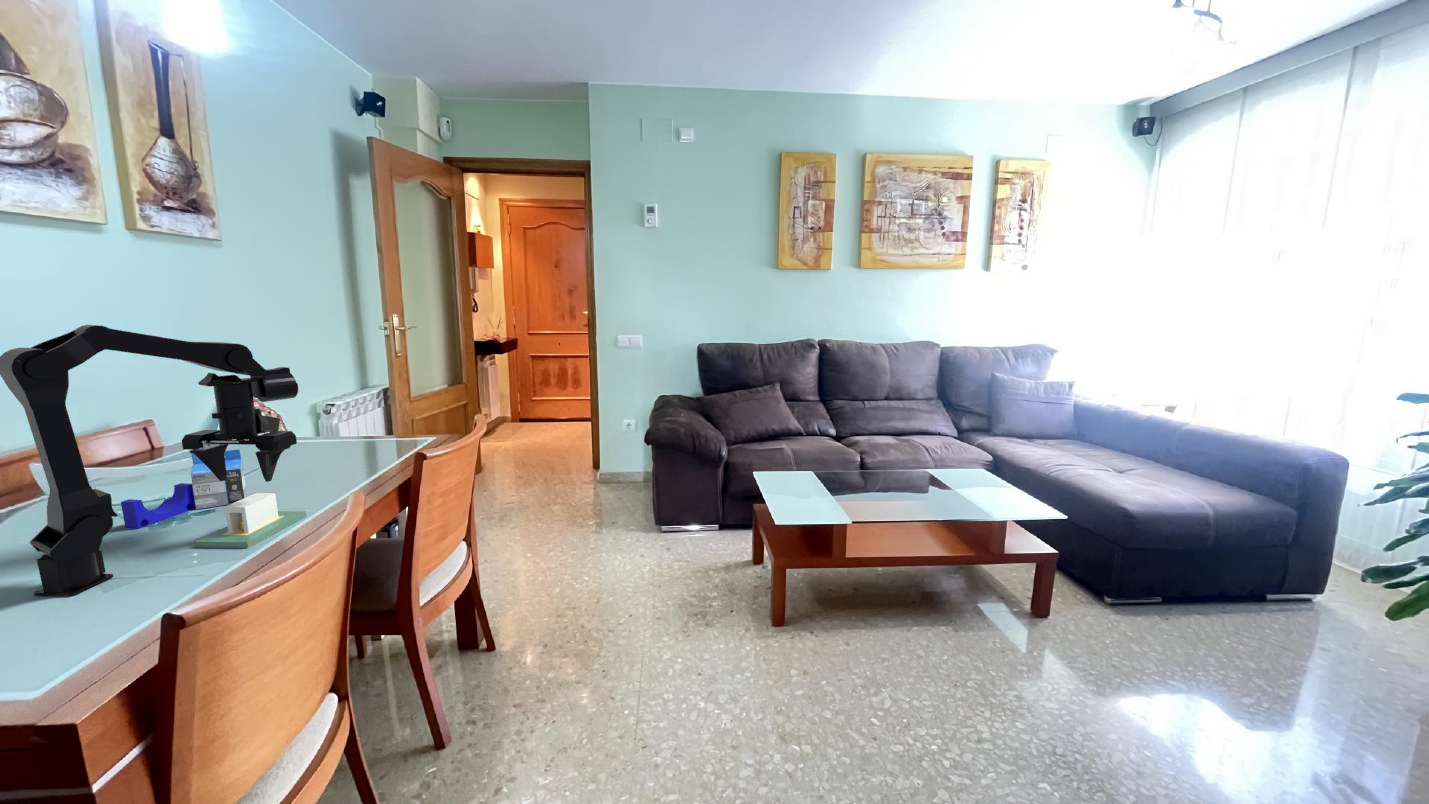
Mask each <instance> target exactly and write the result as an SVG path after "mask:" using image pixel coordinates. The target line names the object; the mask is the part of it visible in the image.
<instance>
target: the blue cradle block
mask: <svg viewBox="0 0 1429 804" xmlns="http://www.w3.org/2000/svg"><path fill="white" fill-rule="evenodd" d="M120 505H121V506H120V507H121V511H122V516H123V522H124V527H125V529H129V530H130V529H131V530H140V529H142V528H146V527H149V526H152V525H154V524H156V523H159V521H160V522H163V521H165V520H168V519H170V518H173V517H176V516H179V515H182V514H184V513H187V512H190V511H193V510H197V509H196V506H195V500H194V493H193V485H192V483H186V482H185V483H184V482H180V483H177V484H174V488H173V494H172V496H171V497H168V498H165V499H164V500H163V501H162V503H160V505H158V506H157V507H156V508H154V509H151V510H149V509H147V507H145V505H144V504H143V500H142V499H132V498H131V499H129V498H128V499H126V500H122V501H120Z"/></svg>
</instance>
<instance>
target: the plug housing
mask: <svg viewBox="0 0 1429 804" xmlns="http://www.w3.org/2000/svg"><path fill="white" fill-rule="evenodd" d="M278 511H279V509H278V504H277V496H276V493H273V492H272V493H271V492H269V493H267V492H256V493H254V494H251V495H247V497H246V498H244V499H242V500H239V501H237V502H235V503H232V504H228V505H224V512H225V513H224V514H225V519H226V521H225V522H226V527H227V528H228V533H233V532H235V531H237V530H239V529H241V526H240V521H242V520H243V526H244V533H250V532H252V531H254V530H256V529H257V528H259V527H261V526H263V525H265V524H267V523H269V522H271V521H273V520H275V519H277V518H279V517H278Z"/></svg>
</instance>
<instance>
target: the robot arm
mask: <svg viewBox="0 0 1429 804" xmlns="http://www.w3.org/2000/svg"><path fill="white" fill-rule="evenodd" d="M105 350H106V351H107V350H108V351H112V352H113V351H114V352H122V353H129V354H138V355H143V356H149V357H150V356H151V357H158V358H165V359H170V360H171V359H172V360H177V361H183V362H187V363H190V364H193V365H195V366H199V367H203V368H207V369H211V370H213V371H218V372H223V373H224V372H225V373H232V374H226V375H218V374H216V373H213V372H208V373H207V374H206V376H204V378H202V379H201V380H200V381H198V383H197V384H198V385H199V386H205V387H213V392H214V399H215V400H214V401H215V406H216V412H212V413H211V418H212V419H215V420H218V426H219V429H203V430H198V431H195V432H191V433H187V434H184V436H183V438H182V439H181V445H182V450H186V451H187V450H188V451H189V454H191V455H192V454H195V455H196V456H197V457H198V458H199V459H200V460H201V461H202V462H203V463H204V464H205V465H206V466H207V467H208V468H209V469H210V470H211V471H212V473H213V474H214V475H215V476H216V477H217V478H218V479H219V480H220V481H224V480H226V465H225V456H224V453H225V451H227V447H228V446H229V445H245V446H247V445H250V446H251V445H253V446H255V447H256V448H257V449H258V451H255V456H256V459H257V461H258V466H259V467H260V471H261V474H262V476H263V479H264V481H265V482H266V483H267V482H268V483H269V482H271V481H272V480H273V476H274V475H275V474H274V473H275V470H276V467H277V464H278V461H279V458H280V456H281V455H282V454H283V452H284V451H285V450H288V449H290V448H291V446H294V445H297V444H298V442H297V441H298V440H297V435H296V433H294V432H293V431H291V430H280V424H281V423H280V422H281V418H280V417H275V416H269V415H263V414H262V410H261V409H260V407H259V408H257V407H255V403H254V398H255V399H257V400H258V401H259V402H261V403H266V402H274V401H282V400H283V401H284V400H289V399H295V398H296V397H297V395H298V393H299V384H298V383H299V382H297V380H296V378H295V376H294V375H293V374H292V373H291V369H290V367H286V366H279V367H275V368H267V369H266V368H264V367H263V366H262V365H261V364H260V363H259V362H258V361H257V360H255V359H254V356H253V353H252V351H251V350H250V349H249V347H248V346H246V345H244V344H241V343H232V342H221V341H220V342H219V341H189V340H187V341H186V340H182V339H175V338H169V337H162V336H157V335H150V334H145V333H138V332H132V331H127V330H121V329H120V330H119V329H116V328H115V329H114V328H111V327H107V326H105V325H98V324H97V325H96V324H85V325H81V326H78V327H77V328H76V329H74V330H71V331H69V332H66V333H64V334H62V335H59V336H57V337H53V338H50V339H48V340H46V341H45V340H44V341H42V342H40V343H38V344H35V345H33V346H31V347H17V348H15V347H14V348H11V349H9V350H7V351H5V352H4V353H3V354H1V355H0V377H1V379H2V380H3V382H4V383H5V385H6V386H7V388H8V390H9V391H10V392H11V393H12V395H14V398H16V400H17V401H19V403H20V405H21V406H22V407H23V409H24V411H25V415H26V419H27V423H28V425H29V428H30V431H31V434H32V436H33V440H34V443H35V446H36V447H35V448H36V450H37V453H38V457H39V459H40V461H41V462H40V463H41V465H42V468H43V472H44V474H45V478H46V481H47V484H48V487H49V494H48V499H47V504H46V516H47V518H46V521H47V524H45V526H44V527H43V528H42V529H41V530H40V531H39V532H38V533H37V534H36V535H35V536H34V537H33V538H32V539H31V540H29V544H30V545H31V546H32V548H34V549H35V551H36V552H38V553H41V554H42V555H41V557H39V558H37V559H36V563H37V567H38V573H39V577H40V581H41V587H42V588H39V589H38V590H35V591H33V595H34V596H75V595H77V594H79V593H81V592H84V591H86V590H88V589H90V588H93V587H94V586H97V585H99V584H100V583H103V582H106V581H107V580H110V579H112V578H113V577H114V573H106V565H105V561H104V556H103V551H102V550H100V548H101V545H102V541H103V538H104V537H105V536H106V535H107V534H108V533H109V532H110V530H112V528H113V526H114V518H115V517H118V516H119V514H117V513H116V512H115V511H114V509H113V502H112V499H113V498H112V495H111V494H110V493H108V492H106V491H103V490H100V489H98V488H92V486H91V485H90V483H89V480H88V476H87V473H86V472H87V471H86V470H85V466H84V463H83V459H82V455H81V453H80V449H79V445H78V442H77V440H76V435H75V433H74V430H73V429H74V428H73V426H72V422H71V418H70V415H69V412H68V409H67V403H66V402H67V397H68V391H69V386H70V385H69V384H70V381H69V371H71V370H73V369H74V368H76V367H78V366H80V365H82V364H84V363H86V362H87V361H88V360H90V359H91V358H93V357H94V356H96V355H97V354H99V353H101V352H103V351H105ZM238 375H243V376H249V377H247V378H246V377H245V378H240V377H239V376H238Z"/></svg>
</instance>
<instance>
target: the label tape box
mask: <svg viewBox="0 0 1429 804" xmlns="http://www.w3.org/2000/svg"><path fill="white" fill-rule="evenodd" d="M224 456H225V465H226V480H224V481H220V480H219V479H218V478H217V477H216V476H215V475H214V474H213V473H212V471H211V470H210V469H209V468H208V467H207V466H206V465H205V464H204V463H203V462H202V461H201V460H200V459H199V458H198V457H197V456H196V455H195V454H191V459H192V460H191V461H192V466H191V473H190V477H191V484H192V485H193V493H194V500H195V506H196V509H195V510H200V509H207V508H213V507H221V506H228V505H230V504H232V503H235V502H237V501H239V500H242V499H244V498H246V497H248V495H247V487H246V481H245V473H244V465H243V459H242V456H241V450H240V449H238V448H237V449H226V450H225V453H224Z"/></svg>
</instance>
